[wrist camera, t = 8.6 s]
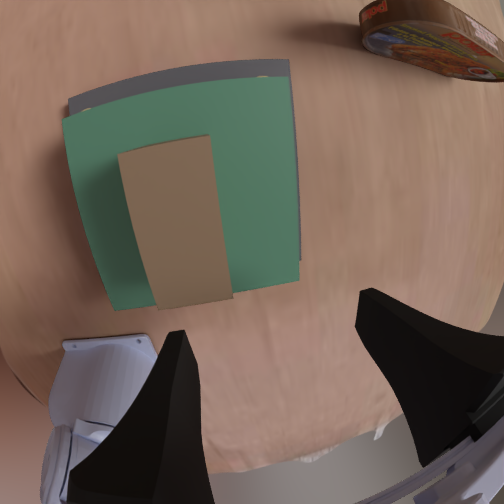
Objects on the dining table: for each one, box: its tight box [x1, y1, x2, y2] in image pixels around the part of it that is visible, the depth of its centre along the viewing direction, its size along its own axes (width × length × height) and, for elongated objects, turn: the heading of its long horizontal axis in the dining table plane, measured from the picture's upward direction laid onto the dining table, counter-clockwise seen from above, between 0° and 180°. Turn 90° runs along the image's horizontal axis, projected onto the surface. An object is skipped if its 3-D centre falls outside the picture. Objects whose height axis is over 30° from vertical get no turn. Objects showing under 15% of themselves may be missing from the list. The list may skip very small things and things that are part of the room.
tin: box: [359, 0, 504, 82], centre depth 11 cm, size 15×3×8 cm, turn 95°
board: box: [62, 77, 299, 311], centre depth 11 cm, size 11×11×5 cm
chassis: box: [68, 59, 301, 261], centre depth 15 cm, size 14×14×4 cm
